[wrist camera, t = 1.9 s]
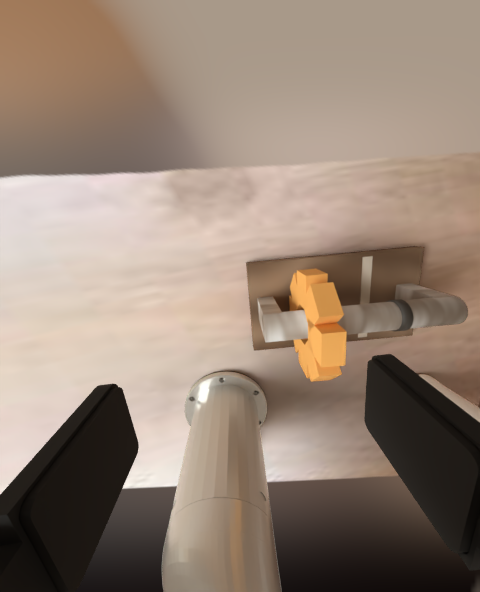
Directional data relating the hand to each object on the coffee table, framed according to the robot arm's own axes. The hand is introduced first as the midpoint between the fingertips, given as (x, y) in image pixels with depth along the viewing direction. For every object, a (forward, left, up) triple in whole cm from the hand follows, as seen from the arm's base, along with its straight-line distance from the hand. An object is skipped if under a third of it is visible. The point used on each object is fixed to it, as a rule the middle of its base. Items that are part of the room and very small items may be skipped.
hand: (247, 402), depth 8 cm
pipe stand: (-4, -12, -22) cm, 26 cm away
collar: (-4, -7, -20) cm, 22 cm away
